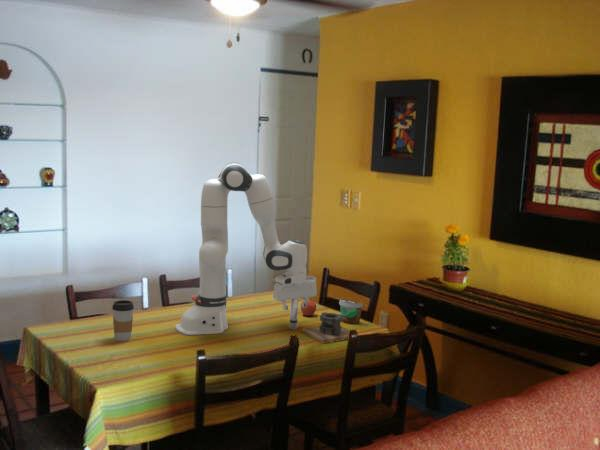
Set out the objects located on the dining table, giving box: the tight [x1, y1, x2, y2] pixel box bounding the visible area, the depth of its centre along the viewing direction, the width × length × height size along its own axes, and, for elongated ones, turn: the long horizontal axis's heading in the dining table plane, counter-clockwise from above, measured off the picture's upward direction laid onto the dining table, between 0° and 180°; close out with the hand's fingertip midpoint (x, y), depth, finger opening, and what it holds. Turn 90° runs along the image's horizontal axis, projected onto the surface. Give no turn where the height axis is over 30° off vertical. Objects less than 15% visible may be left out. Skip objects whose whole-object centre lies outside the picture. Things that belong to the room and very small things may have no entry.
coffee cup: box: [111, 299, 135, 342], centre depth 275 cm, size 8×8×15 cm
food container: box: [338, 297, 364, 325], centre depth 315 cm, size 12×6×10 cm, turn 47°
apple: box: [300, 300, 317, 317], centre depth 322 cm, size 7×7×8 cm
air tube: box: [289, 299, 299, 331], centre depth 300 cm, size 3×3×16 cm
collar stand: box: [301, 311, 351, 344], centre depth 294 cm, size 18×16×8 cm
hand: (294, 308), depth 300 cm, fingers open, 8 cm apart
